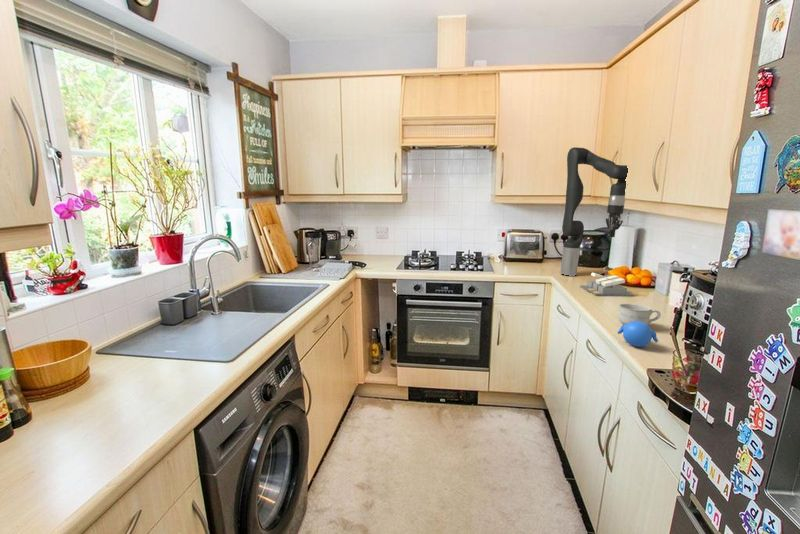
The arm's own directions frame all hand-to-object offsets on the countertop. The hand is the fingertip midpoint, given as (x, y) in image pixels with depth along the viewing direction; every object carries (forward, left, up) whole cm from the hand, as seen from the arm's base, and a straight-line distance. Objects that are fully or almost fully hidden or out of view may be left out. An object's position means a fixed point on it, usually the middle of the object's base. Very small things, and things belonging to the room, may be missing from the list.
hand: (611, 236), depth 208 cm
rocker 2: (+12, -6, -21) cm, 25 cm away
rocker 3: (+18, -6, -21) cm, 28 cm away
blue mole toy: (+81, -33, -27) cm, 92 cm away
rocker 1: (+7, -6, -21) cm, 23 cm away
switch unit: (+12, -6, -27) cm, 30 cm away
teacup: (+64, -22, -27) cm, 73 cm away
